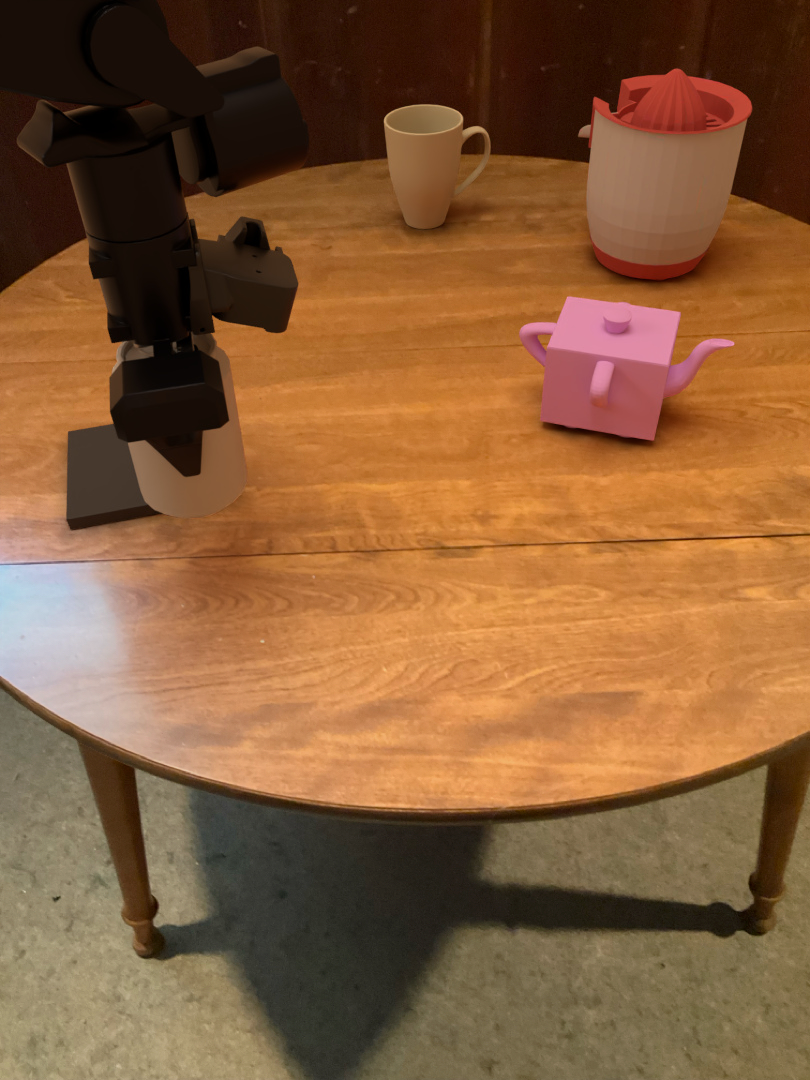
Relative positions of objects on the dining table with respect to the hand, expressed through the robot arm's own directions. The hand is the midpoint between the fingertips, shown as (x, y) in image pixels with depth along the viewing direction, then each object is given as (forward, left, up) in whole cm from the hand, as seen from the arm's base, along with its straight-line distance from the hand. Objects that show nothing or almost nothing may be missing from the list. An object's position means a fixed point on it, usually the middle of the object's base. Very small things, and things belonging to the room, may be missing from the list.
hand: (188, 439), depth 63 cm
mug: (+32, +53, -13) cm, 63 cm away
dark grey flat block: (-5, +14, -13) cm, 19 cm away
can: (0, 0, -5) cm, 5 cm away
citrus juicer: (+52, +37, -13) cm, 65 cm away
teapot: (+37, +10, -13) cm, 40 cm away
